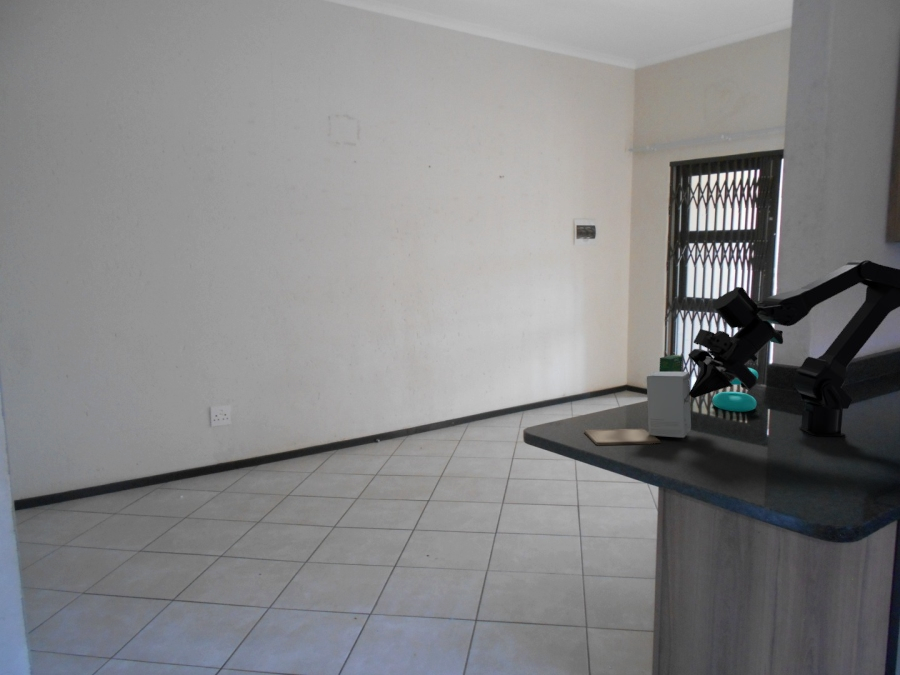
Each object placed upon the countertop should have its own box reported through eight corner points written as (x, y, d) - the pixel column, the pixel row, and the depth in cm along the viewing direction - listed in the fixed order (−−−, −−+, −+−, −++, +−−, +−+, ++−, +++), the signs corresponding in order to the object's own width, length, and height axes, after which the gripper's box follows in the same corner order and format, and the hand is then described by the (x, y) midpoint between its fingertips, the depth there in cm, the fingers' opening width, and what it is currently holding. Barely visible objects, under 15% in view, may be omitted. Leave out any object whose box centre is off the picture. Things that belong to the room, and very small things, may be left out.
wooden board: (643, 431, 131) (643, 428, 131) (660, 443, 123) (660, 440, 122) (584, 432, 131) (584, 430, 131) (597, 445, 122) (597, 442, 122)
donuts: (720, 371, 146) (709, 364, 156) (718, 412, 147) (707, 402, 157) (765, 372, 145) (750, 365, 154) (762, 413, 146) (748, 403, 156)
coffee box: (670, 404, 156) (672, 353, 154) (681, 405, 154) (683, 354, 152) (656, 409, 150) (658, 357, 148) (667, 411, 148) (670, 358, 146)
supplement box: (685, 438, 122) (682, 376, 121) (647, 435, 126) (645, 375, 125) (692, 430, 128) (690, 371, 128) (656, 428, 132) (654, 370, 131)
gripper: (699, 312, 134) (648, 361, 135) (745, 320, 115) (686, 378, 116) (731, 347, 135) (681, 396, 136) (782, 361, 117) (723, 417, 118)
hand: (691, 396), depth 126 cm, fingers closed
